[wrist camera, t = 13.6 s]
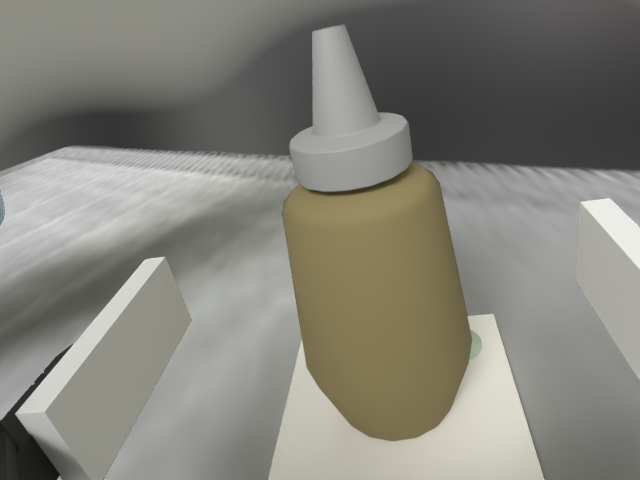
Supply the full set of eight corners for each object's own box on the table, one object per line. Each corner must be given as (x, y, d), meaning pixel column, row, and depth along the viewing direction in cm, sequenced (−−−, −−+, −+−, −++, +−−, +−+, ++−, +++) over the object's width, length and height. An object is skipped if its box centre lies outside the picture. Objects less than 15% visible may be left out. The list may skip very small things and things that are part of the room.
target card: (264, 514, 21) (260, 504, 21) (305, 336, 31) (303, 327, 31) (552, 515, 19) (552, 503, 18) (493, 321, 29) (493, 312, 29)
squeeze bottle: (434, 328, 29) (396, 4, 20) (509, 432, 21) (497, -2, 13) (307, 368, 28) (214, 48, 20) (341, 489, 21) (216, 67, 12)
